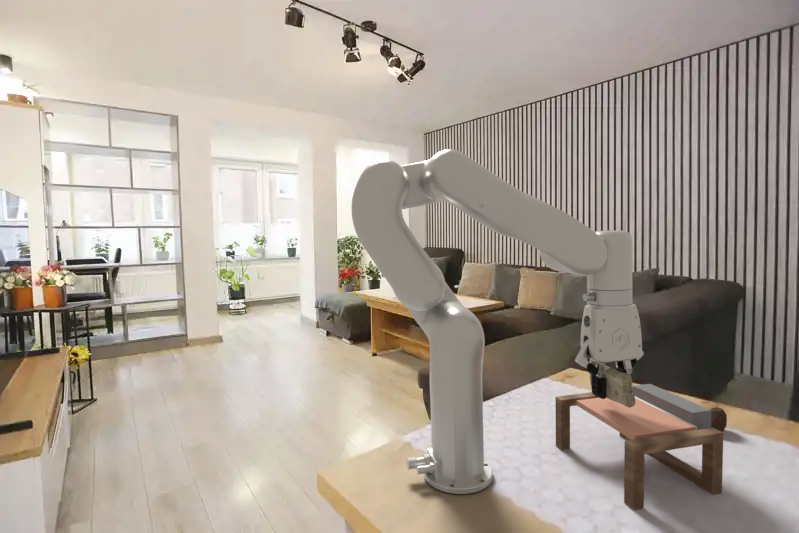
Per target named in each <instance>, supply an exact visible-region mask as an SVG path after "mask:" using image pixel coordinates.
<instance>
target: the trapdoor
mask: <svg viewBox="0 0 799 533" xmlns="http://www.w3.org/2000/svg"><path fill="white" fill-rule="evenodd" d="M632 386H633V390H634V396H635V405H634V406H633V407H630V408H629V407H626V406H624V405H622V404H620V403H618V402H615V401H612V400H610V399H608V398H606V399H601V398H592V399H584V400H576V406H577V407H578V408H581V410H583V411H585V412H586V413H587V414H589V415H591V416H593V417H594V418H596V419H597V420H599V421H601V422H602V423H604V424H606V425H608V426H609V427H610V428H612V429H614V430H615V431H617V432H618V433H619V434H620V433H622V434H623V435H625V436H627V437H628V438H630V439H631V440H634V439H640V438H647V437H654V436H660V435H667V434H673V433H680V432H686V431H693V430H699V429H706V428H711V410H710V409H711V408H710V409H709V408H707V407H705V406H703V405H700V404H698V403H695V402H694V401H692V400H689V399H687V398H684V397H682V396H680V395H676V394H675V393H672V392H670V391H668V390H666V389H663V388H661V387H659V386H656V385H653V384H651V383H645V384H636V385H632Z"/></svg>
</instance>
